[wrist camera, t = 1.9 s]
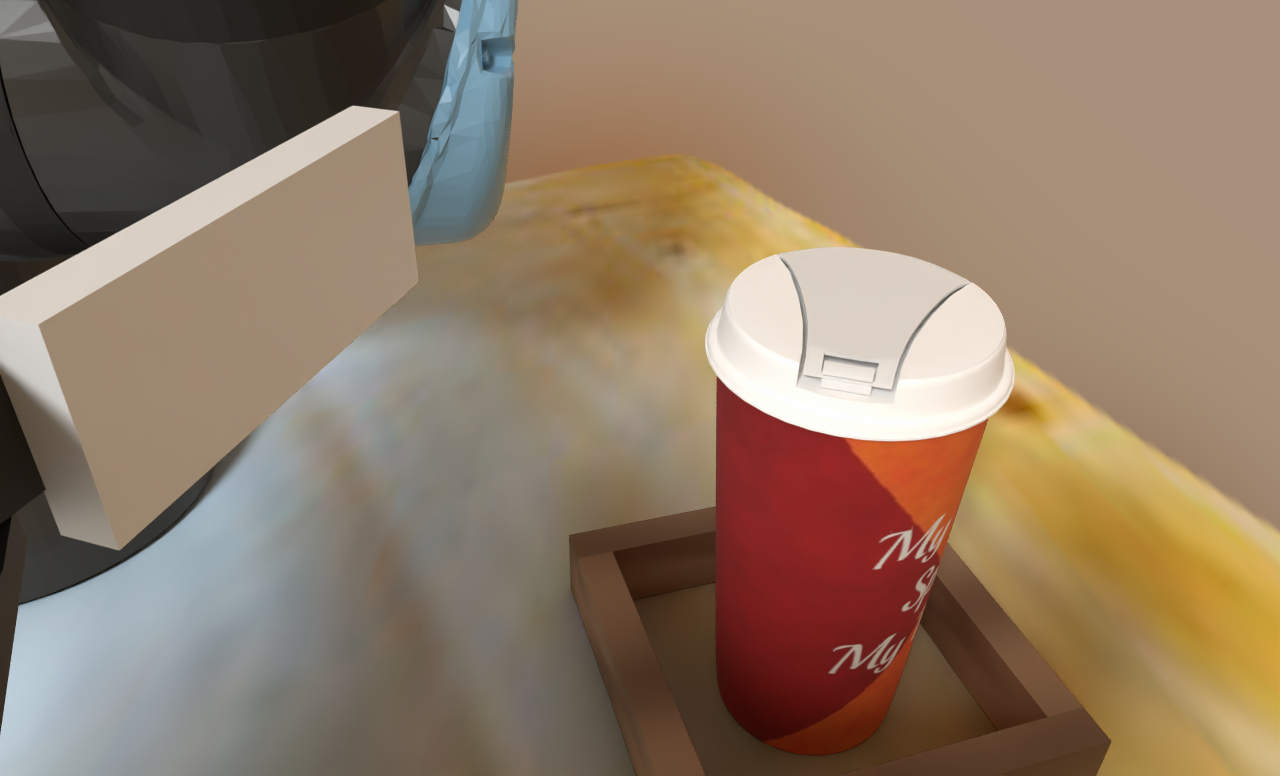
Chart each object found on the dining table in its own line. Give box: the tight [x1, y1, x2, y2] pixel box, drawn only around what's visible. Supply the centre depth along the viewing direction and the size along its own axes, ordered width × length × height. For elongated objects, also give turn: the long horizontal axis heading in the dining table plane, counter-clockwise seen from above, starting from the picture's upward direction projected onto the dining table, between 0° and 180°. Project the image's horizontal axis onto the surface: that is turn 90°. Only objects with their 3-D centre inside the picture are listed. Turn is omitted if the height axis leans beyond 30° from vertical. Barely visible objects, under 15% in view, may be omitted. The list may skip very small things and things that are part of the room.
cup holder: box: [569, 507, 1111, 776], centre depth 32 cm, size 12×12×2 cm
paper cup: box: [705, 247, 1015, 755], centre depth 28 cm, size 8×8×14 cm
